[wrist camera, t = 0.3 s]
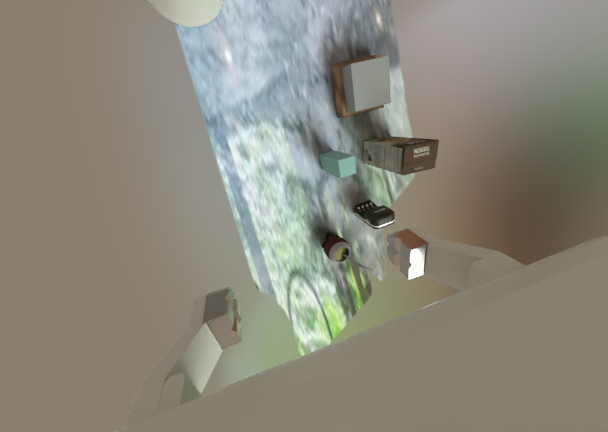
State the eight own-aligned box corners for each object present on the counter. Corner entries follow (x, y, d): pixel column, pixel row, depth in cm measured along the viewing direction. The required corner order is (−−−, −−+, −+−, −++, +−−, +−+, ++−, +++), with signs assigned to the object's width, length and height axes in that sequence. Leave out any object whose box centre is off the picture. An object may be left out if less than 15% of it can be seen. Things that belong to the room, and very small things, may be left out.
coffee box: (391, 135, 62) (440, 139, 48) (390, 158, 65) (436, 168, 51) (362, 140, 60) (405, 145, 46) (363, 164, 63) (403, 176, 49)
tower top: (341, 68, 48) (350, 63, 45) (377, 60, 50) (388, 55, 47) (346, 112, 52) (355, 111, 49) (379, 104, 54) (390, 102, 51)
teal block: (319, 154, 58) (338, 160, 48) (333, 150, 59) (354, 155, 49) (321, 169, 60) (340, 178, 50) (335, 165, 60) (356, 173, 51)
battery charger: (372, 197, 68) (397, 210, 58) (373, 208, 70) (398, 222, 60) (352, 204, 67) (374, 218, 57) (353, 215, 68) (375, 231, 58)
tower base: (329, 66, 51) (337, 62, 48) (371, 58, 54) (381, 53, 50) (336, 117, 56) (344, 117, 53) (374, 108, 58) (383, 107, 55)
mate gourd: (316, 238, 67) (338, 266, 54) (338, 225, 68) (366, 250, 55) (324, 256, 71) (347, 286, 58) (345, 243, 72) (373, 270, 58)
